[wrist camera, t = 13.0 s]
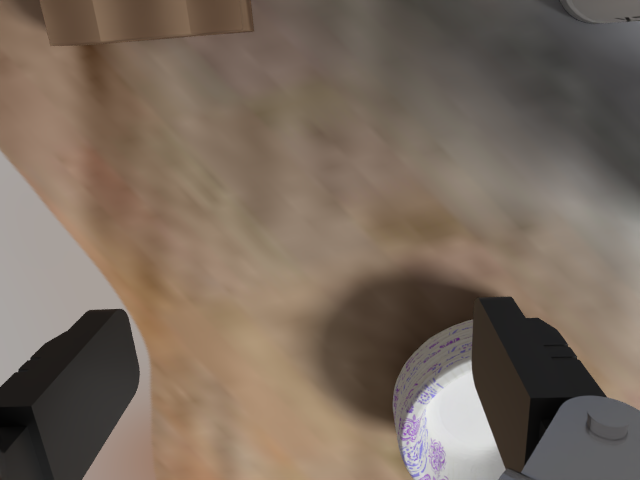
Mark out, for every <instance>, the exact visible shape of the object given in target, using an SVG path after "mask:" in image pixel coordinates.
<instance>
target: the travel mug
mask: <svg viewBox="0 0 640 480" xmlns="http://www.w3.org/2000/svg"><path fill="white" fill-rule="evenodd" d="M560 2H561V4H562V6H563V8H564V9H565V10H566V11H567V12H568V13H569V14H570V15H571V16H573V17H574V18H576V19H577V20H580V21H582V22H585V23H592V24H599V23H614V22H629V21H640V0H560Z"/></svg>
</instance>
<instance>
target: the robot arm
mask: <svg viewBox="0 0 640 480" xmlns="http://www.w3.org/2000/svg"><path fill="white" fill-rule="evenodd" d="M471 361H472V374H473V381H474V385H475V388H476V391H477V394H478V396H479V399H480V402H481V404H482V407H483V410H484V413H485V415H486V418H487V421H488V423H489V426H490V429H491V431H492V434H493V437H494V440H495V442H496V445H497V448H498V450H499V453H500V456H501V458H502V461H503V464H504V466H505V469H506V470H505V471H504V472H503V473H502V475H501V476H500V477H499V479H498V480H640V411H639V410H637V409H636V408H634V407H632V406H630V405H628V404H626V403H623V402H621V401H618V400H614V399H611V398H607V397H606V395H605V394H604V393H603V391H602V390H601V389H600V387H599V386H598V384H597V383H596V382H595V380H594V379H593V378H592V376H591V375H590V374H589V372H588V371H587V370H586V368H585V367H584V365H583V364H582V363H581V361H580V360H577V356H576V355H575V353H574V352H573V351H572V349H571V348H570V347H568V344H567V342H566V341H565V340H564V338H563V337H562V336H561V334H560V333H559V332H558V330H557V329H555V328H553V327H552V326H550V325H549V324H547V323H545V322H544V321H542V320H541V319H539V318H525V316H524V315H523V313H522V312H521V310H520V309H519V307H518V306H517V304H516V303H515V301H514V299H513V298H512V297H485V298H476V299H475V302H474V311H473V335H472V360H471ZM139 375H140V371H139V364H138V359H137V355H136V350H135V345H134V341H133V337H132V332H131V327H130V323H129V318H128V316H127V314H126V312H125V311H124V310H122V309H105V310H89V311H87V312H86V313H85V314H84V315H83V316H82V317H81V318H80V319H79V320H78V321H77V322H76V323H75V324H74V325H73V326H72V327H71V328H70V329H69V330H68V331H66V332H64V333H62V334H61V335H59V336H58V337H56V338H54V339H52V340H51V341H49V342H47V343H45V344H44V345H43V346H42V347H41V348H40V349H39V350H38V351H37V352H36V353H35V354H34V355H33V356H32V357H31V360H30V361H27V362H26V363H25V364H24V365H22V366H21V367H20V369H19V371H18V372H16V373H14V374H13V375H12V376H11V377H10V378H9V379H8V380H7V381H6V382H5V383H4V384H3V385H2V386H1V387H0V480H82V479H83V477H84V475H85V474H86V472H87V470H88V469H89V467H90V466H91V464H92V463H93V461H94V459H95V458H96V456H97V454H98V453H99V451H100V450H101V448H102V446H103V445H104V443H105V442H106V440H107V438H108V437H109V435H110V434H111V432H112V430H113V429H114V427H115V426H116V424H117V422H118V421H119V419H120V417H121V416H122V414H123V413H124V411H125V409H126V408H127V406H128V404H129V403H130V401H131V400H132V398H133V397H134V395H135V393H136V391H137V388H138V384H139Z"/></svg>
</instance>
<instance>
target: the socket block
mask: <svg viewBox="0 0 640 480" xmlns="http://www.w3.org/2000/svg"><path fill="white" fill-rule="evenodd" d="M39 1H40V5H41V9H42V13H43V17H44V21H45V26H46V30H47V34H48V38H49V42H50V46H69V45H93V44H105V43H118V42H130V41H142V40H154V39H167V38H179V37H191V36H204V35H216V34H228V33H240V32H253V31H254V26H253V17H252V8H251V0H39Z"/></svg>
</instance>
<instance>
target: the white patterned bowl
mask: <svg viewBox="0 0 640 480" xmlns="http://www.w3.org/2000/svg"><path fill="white" fill-rule="evenodd" d="M472 335H473V319H472V320H469V321H465V322H462V323H460V324H456V325H454V326H451V327H449V328H447V329H445V330H443V331H441V332H439V333H438V334H436V335H434V336H433V337H431V338H429V339H428V340H427V341H426V342H425V343H424V344H422V345H421V346H420V347H419V348H418V349H417V350H416V351H415V352H414V353H413V354H412V356H411V357H410V358H409V359H408V360H407V362H406V363H405V364H404V366H403V368H402V370H401V372H400V374H399V376H398V378H397V381H396V384H395V388H394V395H393V414H394V421H395V428H396V432H397V440H398V445H399V449H400V453H401V456H402V459H403V461H404V464H405V467H406V468H407V470H408V472H409V473H410V475H411V476H412V478H413V479H414V480H498V479H499V477H500V476H501V475H502V473H503V472H504V471H505V470H506V469H505V466H504V464H503V461H502V458H501V456H500V453H499V450H498V448H497V445H496V442H495V440H494V437H493V434H492V431H491V429H490V426H489V423H488V421H487V418H486V415H485V413H484V410H483V407H482V404H481V402H480V399H479V396H478V394H477V391H476V388H475V385H474V381H473V374H472V361H471V360H472Z"/></svg>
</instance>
